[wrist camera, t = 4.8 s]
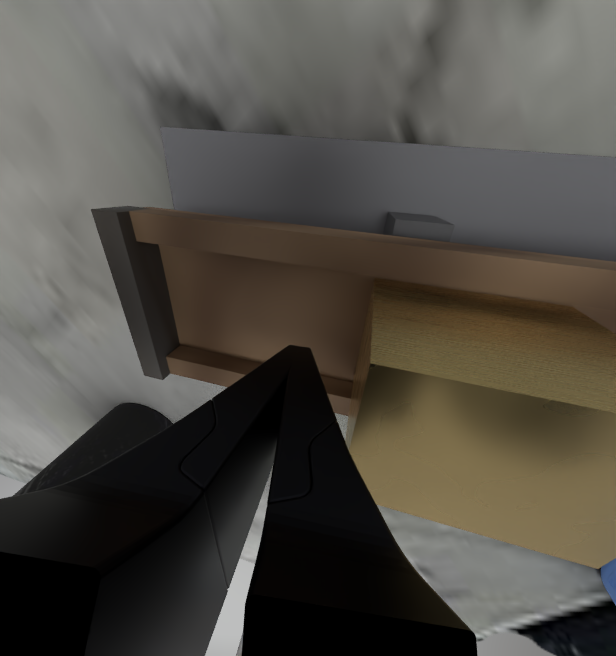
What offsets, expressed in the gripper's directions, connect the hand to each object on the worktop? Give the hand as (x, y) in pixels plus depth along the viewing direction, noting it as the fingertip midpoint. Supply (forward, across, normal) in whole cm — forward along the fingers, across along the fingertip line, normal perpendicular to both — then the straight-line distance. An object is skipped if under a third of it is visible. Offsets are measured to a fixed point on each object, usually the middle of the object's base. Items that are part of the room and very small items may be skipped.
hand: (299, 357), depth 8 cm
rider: (+2, -5, 0) cm, 5 cm away
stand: (+7, -4, 0) cm, 8 cm away
